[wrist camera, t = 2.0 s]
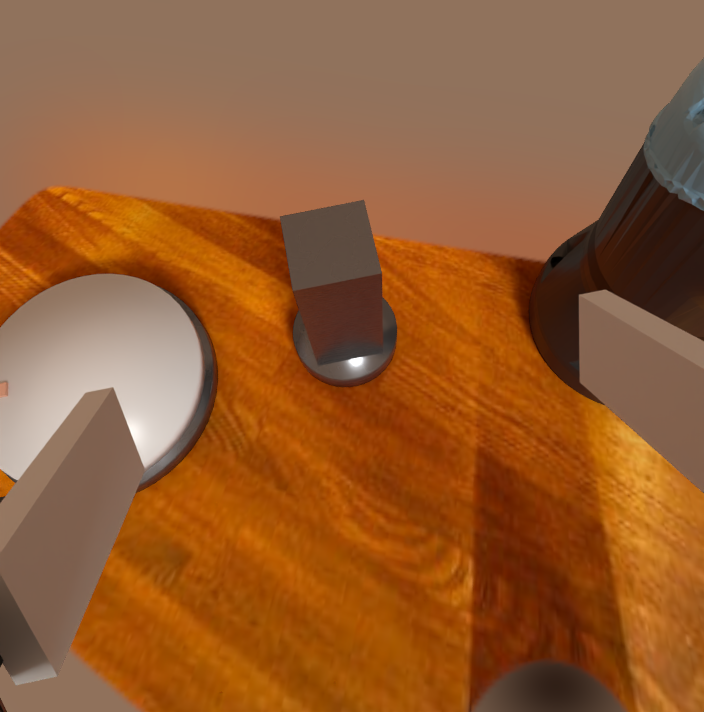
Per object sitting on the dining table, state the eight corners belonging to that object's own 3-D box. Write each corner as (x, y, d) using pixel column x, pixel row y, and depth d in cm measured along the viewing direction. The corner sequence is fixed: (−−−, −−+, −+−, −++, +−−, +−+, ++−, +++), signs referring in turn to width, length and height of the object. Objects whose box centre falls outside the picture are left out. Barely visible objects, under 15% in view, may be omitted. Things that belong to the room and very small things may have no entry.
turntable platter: (195, 265, 46) (188, 253, 44) (215, 467, 40) (208, 463, 38) (-10, 305, 46) (-25, 294, 44) (-21, 515, 39) (-39, 513, 38)
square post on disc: (384, 286, 46) (383, 174, 33) (406, 375, 43) (414, 291, 30) (289, 305, 46) (251, 200, 33) (305, 396, 43) (269, 320, 30)
